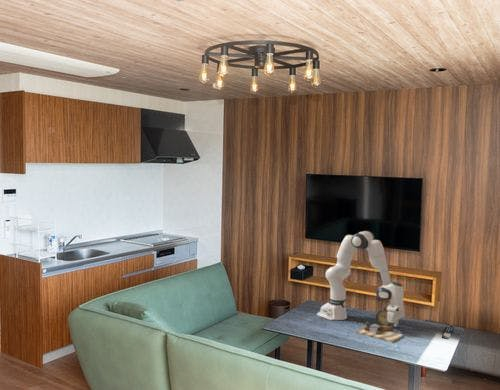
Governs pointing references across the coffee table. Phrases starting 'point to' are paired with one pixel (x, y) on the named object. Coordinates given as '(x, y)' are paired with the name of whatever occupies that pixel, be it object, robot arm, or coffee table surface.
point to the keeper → (374, 328)
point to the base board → (382, 335)
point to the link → (382, 328)
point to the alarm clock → (382, 317)
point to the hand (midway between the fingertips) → (395, 326)
